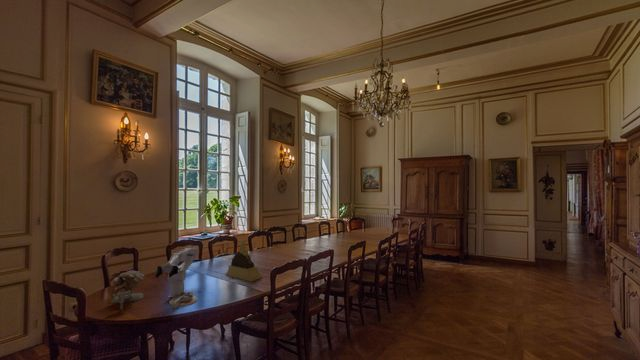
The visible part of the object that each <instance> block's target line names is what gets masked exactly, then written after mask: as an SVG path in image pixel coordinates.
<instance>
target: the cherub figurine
mask: <svg viewBox="0 0 640 360" xmlns="http://www.w3.org/2000/svg"><path fill="white" fill-rule="evenodd" d="M144 277H145V275H144V274H142V272H141V271H136V270H128V271H126V272H122V273H120V274H119V276H116V277H114V278H113V280H112V282H113V285H114V286H116V287H115V288H114V291H116V292H117V293H116V296H118V295H119V293H120V292H125V291H132V294H131V295H130V298H128V299H124V302H123V304H126V303H128V304H129V303H130V304H131V303H135V302H137V301H139V300H143V298H144V293H141V292H140V293H139V292H134V293H133V288H135V287H137V285H140V284H141V281H144V279H145V278H144ZM126 295H127V294H125V296H126ZM115 299H119V298H115ZM109 303H112V304H120V303H119V301H114V300H113V299H111V300H109Z"/></svg>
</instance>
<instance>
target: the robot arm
mask: <svg viewBox="0 0 640 360" xmlns="http://www.w3.org/2000/svg"><path fill="white" fill-rule="evenodd" d="M199 253H200V251H199V248H198V247H184V248H183V249H180V250H179V251H177V252H173V253H171V256H170V259H169V260H168V262H166V264H163V265H161V266H158V265H157V266H156V268H155V271H156V273H155V278H156V279H158V278H159V277H160V276H161V275H163V272H164V273H167V274H168V275H167V281H168V282H169V284H170V295H169V296H167V297H168V298H174V295H175V294H178V295H179V294H181V292H184V294H185V293H186V291H185V282H184V281H185V280H186V278H187V270H188V269H189V268H190V267H191V266H192V264H193V262H194V261H196V259H197V258H198V256H199ZM181 262H182V263H181ZM179 263H181V264H180V265H178V264H179Z"/></svg>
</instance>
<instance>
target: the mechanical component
mask: <svg viewBox="0 0 640 360" xmlns="http://www.w3.org/2000/svg"><path fill="white" fill-rule="evenodd" d="M132 293H133V290H132V291H125V292H120V293H119V295H116V294H114V293H113V294H111V299H112V300H114V301H119V303H118V304H119V310H120V311H123V310H124V303H123V302H124V299H128V298H130V295H131V294H132ZM125 294H127V295H126V296H125ZM116 298H119V299H116Z"/></svg>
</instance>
